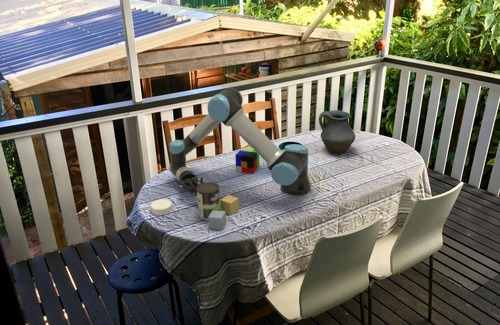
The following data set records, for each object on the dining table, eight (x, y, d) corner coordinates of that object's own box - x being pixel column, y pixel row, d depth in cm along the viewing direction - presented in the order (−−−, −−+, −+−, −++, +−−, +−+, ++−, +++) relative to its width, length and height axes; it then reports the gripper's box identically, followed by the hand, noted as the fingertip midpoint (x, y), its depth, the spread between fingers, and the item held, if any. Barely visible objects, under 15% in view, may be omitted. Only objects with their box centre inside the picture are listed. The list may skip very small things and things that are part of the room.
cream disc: (176, 211, 210) (175, 205, 209) (155, 218, 206) (154, 211, 204) (167, 203, 218) (167, 196, 217) (148, 208, 213) (147, 202, 212)
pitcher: (357, 158, 260) (360, 117, 250) (319, 158, 260) (321, 117, 250) (350, 144, 279) (353, 105, 268) (315, 145, 279) (316, 106, 269)
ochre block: (239, 209, 211) (238, 198, 208) (230, 214, 206) (230, 203, 204) (229, 205, 214) (228, 194, 212) (221, 210, 210) (220, 199, 207)
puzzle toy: (236, 171, 248) (235, 154, 244) (243, 164, 256) (242, 148, 252) (252, 174, 245) (252, 157, 240) (259, 166, 253) (259, 150, 249)
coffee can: (225, 212, 208) (224, 185, 203) (212, 222, 201) (210, 194, 195) (207, 206, 213) (205, 180, 208) (194, 216, 206) (191, 189, 200)
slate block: (226, 223, 200) (225, 211, 198) (222, 230, 195) (221, 218, 192) (213, 221, 201) (212, 210, 199) (209, 228, 196) (208, 217, 194)
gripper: (198, 180, 232) (217, 199, 213) (174, 186, 226) (191, 207, 207) (197, 167, 228) (216, 185, 209) (172, 173, 223) (190, 192, 204)
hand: (204, 196), depth 208 cm, fingers closed
